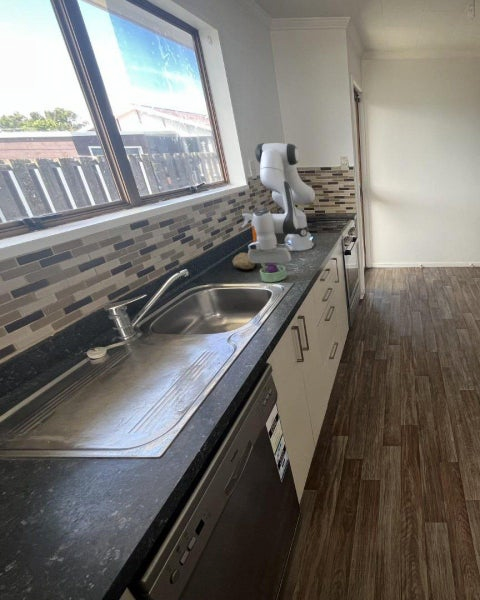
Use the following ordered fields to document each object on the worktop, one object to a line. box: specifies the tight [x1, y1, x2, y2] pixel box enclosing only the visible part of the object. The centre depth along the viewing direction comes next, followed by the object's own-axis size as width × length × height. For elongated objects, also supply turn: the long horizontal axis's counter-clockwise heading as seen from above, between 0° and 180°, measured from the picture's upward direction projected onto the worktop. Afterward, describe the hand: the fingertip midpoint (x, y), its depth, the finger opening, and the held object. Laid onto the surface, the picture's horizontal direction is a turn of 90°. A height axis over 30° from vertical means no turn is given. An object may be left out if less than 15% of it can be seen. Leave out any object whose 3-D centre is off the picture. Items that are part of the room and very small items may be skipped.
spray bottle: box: [241, 213, 257, 242], centre depth 196 cm, size 7×11×26 cm, turn 123°
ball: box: [267, 263, 277, 273], centre depth 165 cm, size 5×5×5 cm
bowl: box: [259, 264, 287, 283], centre depth 167 cm, size 12×12×5 cm
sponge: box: [231, 252, 256, 271], centre depth 183 cm, size 13×8×20 cm
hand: (272, 270), depth 166 cm, fingers closed on ball, 5 cm apart
